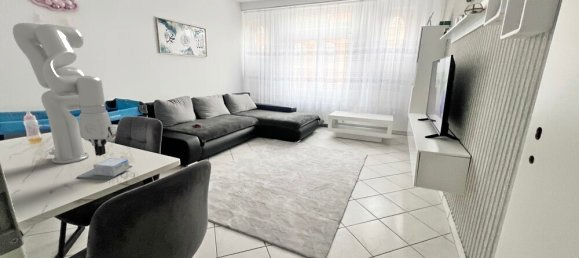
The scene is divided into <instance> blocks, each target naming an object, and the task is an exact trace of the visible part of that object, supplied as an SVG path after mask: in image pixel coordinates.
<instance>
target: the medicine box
mask: <svg viewBox="0 0 579 258" xmlns="http://www.w3.org/2000/svg"><path fill="white" fill-rule="evenodd" d="M92 166H93V169H94V172H95V175H104V176H115V177H116V175H117V176H119V175H120V173H121V174H122V173H124V172H126V171H128V170H130V168H129V159H126V158H117V157H115V158H114V157H108V158H106V159H105V160H102V161H100V162H96V163H94V164H93V165H92ZM118 174H119V175H118Z"/></svg>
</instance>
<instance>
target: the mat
mask: <svg viewBox="0 0 579 258" xmlns="http://www.w3.org/2000/svg"><path fill="white" fill-rule="evenodd" d="M132 167H133V165H129V169H131V168H132ZM120 174H122V173H120ZM120 174H118V175H116V176H119V175H120ZM116 176H104V175H95V172H94V168H92V169H90V170H87V171H86V172H84V173H81V174H79V175H77V176H76V179H85V180H86V179H87V180H103V181H104V180H105V181H106V180H107V181H108V180H109V181H110V180H112V179H113V178H115V177H116Z"/></svg>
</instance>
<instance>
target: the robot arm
mask: <svg viewBox="0 0 579 258" xmlns="http://www.w3.org/2000/svg"><path fill="white" fill-rule="evenodd" d="M12 34H13V39H14V41H15V43H16V44H17V46H18V47H19V49H20V50H21V51H22V53H23V54H24V55H25V57H26V58H27V59H28V60H29V63H30V66H31V68H32V70H33V72H34V75H35V77H36V80H37V82H38V84H39V85H40V86H41V87H42V88H44V89H47V91H45V92H43V93H42V94H41V97H40V100H41V103H42V106H43V108H44V110H45V112H46V115H47V119H48V123H49V128H50V132H51V133H50V134H51V137H52V141H53V146H54V148H53V149H52V150H51V151H49V153H48V154H49V155H51V156H54V157H53V158H52V159H51V162H52V163H54V164H57V165H58V164H71V163H76V162H80V161H83V160H85V159H88V157H90V154H89V153H88V152H85V150H84V146H83V141H82V139H83V140H84V141H87V142H90V143H91V145H92V146H93V148H94V153H95V156H96V157H97V156H99V157H101V156H103V155H106V153H107V152H106V146H105V145H107V143H108V142H112V141H113V135H114V132H113V125H112V122H111V118H110V116H109V113H108V112H107V110H106V109H107V108H106V107H107V106H106V102H105V101H106V100H105V95H104V88H103V82H102V80H101V79H102V78H101V77H97V76H91V75H85V74H84V72H83V71H82V70H81V69H79V68H78V67H74V66H73V67H72V66H71V67H70V65H71V64H74V63H75V61H76V60H77V53H76V52H75V51H74V49H80V48H82V47H83V45H84V38H83V35H82V33H81V32H80V31H79V30H78V29H77V28H75V27H74V26H73V27H72V26H66V25H65V26H63V25H57V24H49V23H45V24H41V23H34V22H33V23H32V22H19V23H16V24H14V25H13V27H12ZM73 48H74V49H73ZM48 89H50V90H48ZM74 111H80V112H81V113H79V116H78V118H77V117H76V116H74V114H72V113H71V112H74Z"/></svg>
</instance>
